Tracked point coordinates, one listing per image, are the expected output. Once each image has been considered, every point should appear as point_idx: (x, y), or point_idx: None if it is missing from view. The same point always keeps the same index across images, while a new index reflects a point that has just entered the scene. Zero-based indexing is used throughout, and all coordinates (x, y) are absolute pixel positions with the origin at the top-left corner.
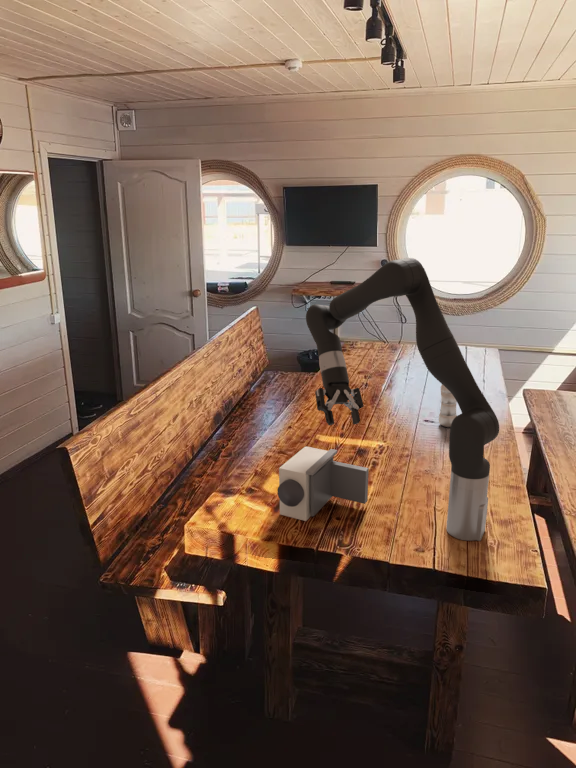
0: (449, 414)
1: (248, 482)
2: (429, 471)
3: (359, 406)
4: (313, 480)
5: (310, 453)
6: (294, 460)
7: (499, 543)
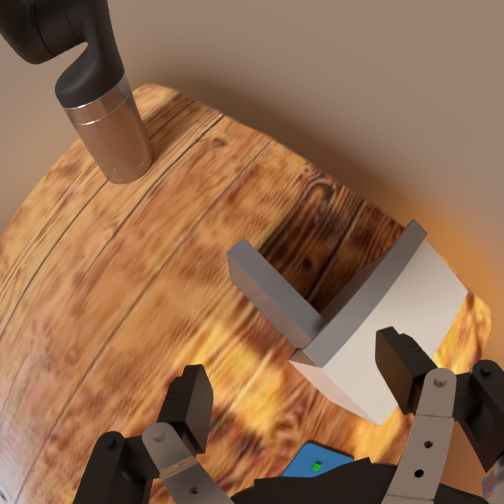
0: None
1: None
2: (45, 361)
3: (130, 448)
4: None
5: None
6: (435, 327)
7: None
